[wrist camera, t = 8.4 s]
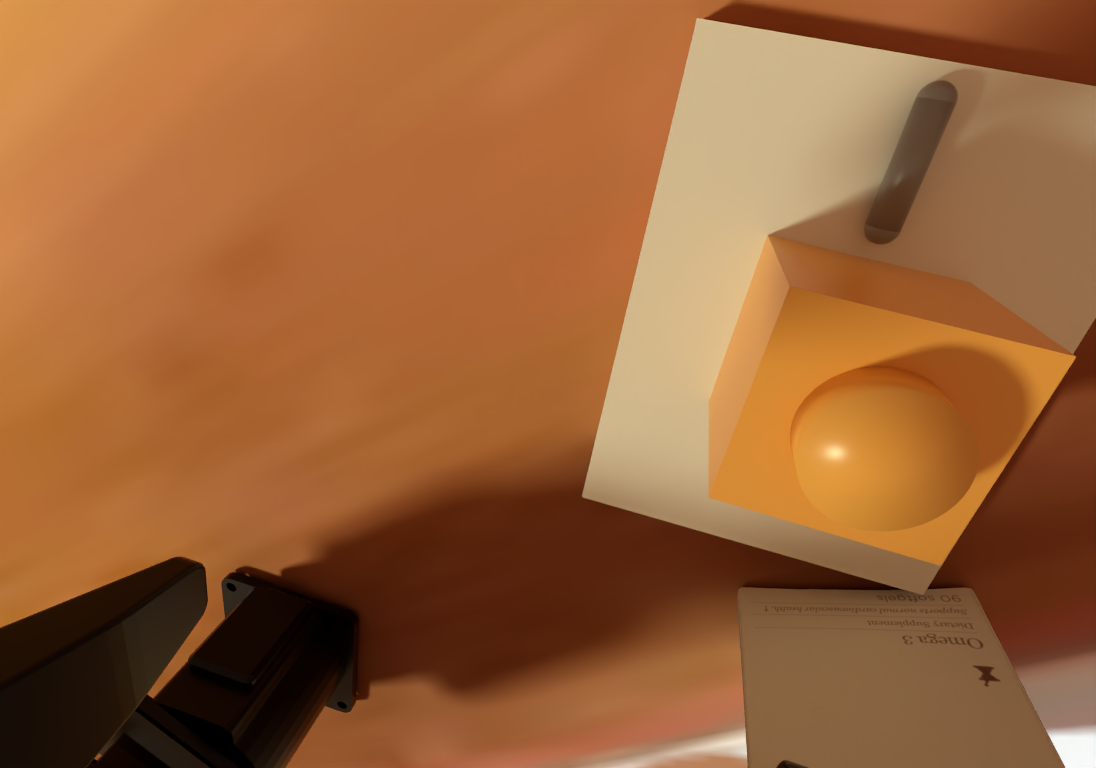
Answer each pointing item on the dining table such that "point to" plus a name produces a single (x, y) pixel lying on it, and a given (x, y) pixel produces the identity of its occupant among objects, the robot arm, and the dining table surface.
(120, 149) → the dining table surface
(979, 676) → the supplement box
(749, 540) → the cream base plate
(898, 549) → the orange domed cube
